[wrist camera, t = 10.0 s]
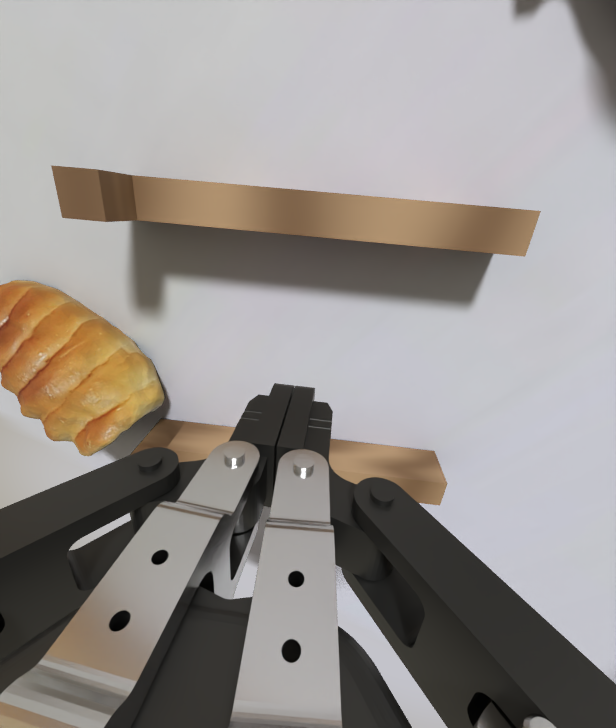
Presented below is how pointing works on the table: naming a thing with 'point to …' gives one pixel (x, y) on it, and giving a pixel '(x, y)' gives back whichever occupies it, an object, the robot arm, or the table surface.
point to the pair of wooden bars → (306, 218)
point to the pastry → (72, 367)
